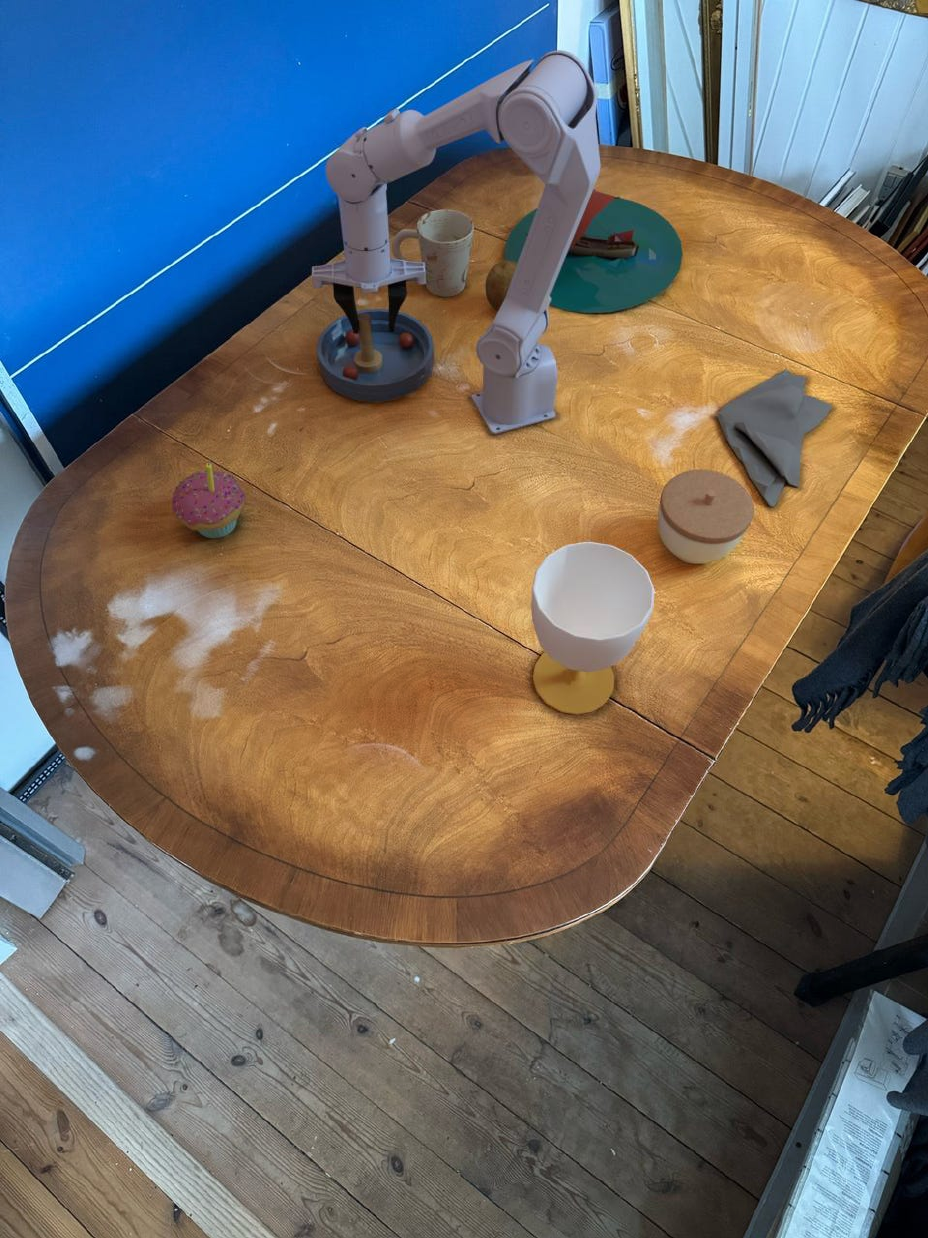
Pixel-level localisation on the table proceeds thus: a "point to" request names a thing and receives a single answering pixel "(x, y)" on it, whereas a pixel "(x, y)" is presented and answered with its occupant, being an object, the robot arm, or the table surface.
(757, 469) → the cloth
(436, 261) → the mug
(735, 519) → the trinket box
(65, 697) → the table surface
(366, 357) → the pestle
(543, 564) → the cup
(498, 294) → the fruit
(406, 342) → the bead
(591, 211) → the toy sailboat
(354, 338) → the bead
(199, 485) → the cupcake
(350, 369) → the bead
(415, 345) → the bowl
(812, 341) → the table surface
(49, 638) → the table surface
